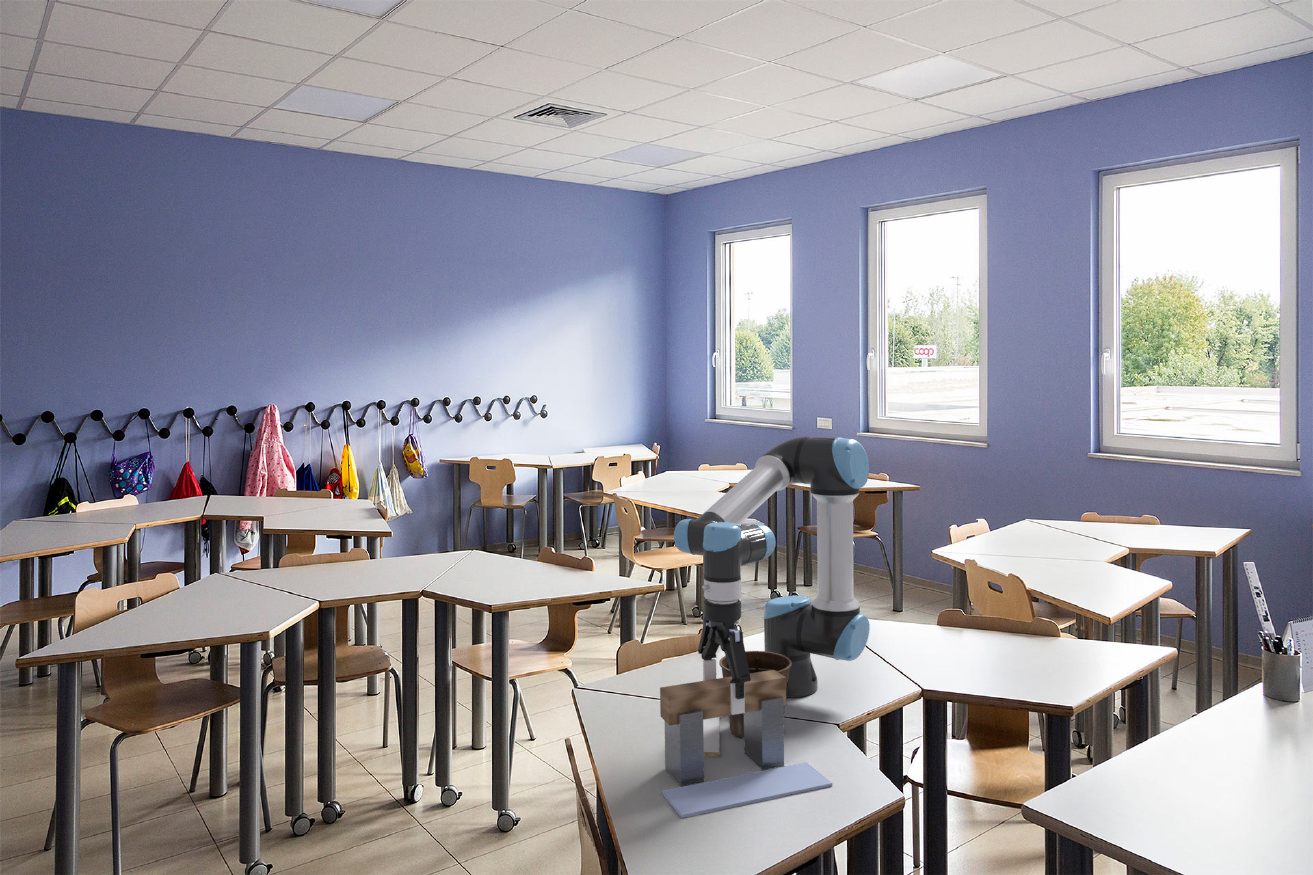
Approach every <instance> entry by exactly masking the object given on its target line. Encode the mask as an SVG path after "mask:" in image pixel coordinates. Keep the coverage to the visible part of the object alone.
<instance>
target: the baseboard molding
mask: <svg viewBox="0 0 1313 875" xmlns="http://www.w3.org/2000/svg"><path fill="white" fill-rule="evenodd" d="M703 737H704V757H720V717H717V718H711V719H705V720H703Z"/></svg>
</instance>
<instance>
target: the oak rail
mask: <svg viewBox="0 0 1313 875" xmlns="http://www.w3.org/2000/svg"><path fill="white" fill-rule="evenodd" d="M750 677H751V680H750V681H748V682H745V713H746V712H751V711H757V710H760V700H761V699H767V698H773V697H779V696H782V697H783V698H784V706H785V707H786V706H787V697H786V677H785V676H783V675H782V674H780V673H779V672H777V671H776V670H770V671H763V672H757V673H750ZM731 679H732V676H731V677H725V678H723V677H719V678H716V679H712V680H705V681H703V680H700V681H694V682H687V683H681V684H675V685H673V684H672V685H668V686H661V687H659V703H660V704H659V706H660V709H659V710H660V713H659V714H660V717H661V719H662V720H663V721H664V722H665V721H666V722H667V724H668V725H669V726H670V725H676V724H678V713H684V712H690V711H695V710H702V711H703V720H705V719H711V718H717V717H719V718H722V717H727V716H728V717H729V715H732V714H731V683H730V681H731Z"/></svg>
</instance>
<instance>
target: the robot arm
mask: <svg viewBox="0 0 1313 875" xmlns="http://www.w3.org/2000/svg"><path fill="white" fill-rule="evenodd" d="M869 475H870V463H869V458H868V455H867V452H866V450H865V448H864V447H863V445H862V444H861V443H860V442H859V441H857V440H856V439H853V438H847V437H846V438H843V437H822V436H821V437H819V436H818V437H815V436H796V437H793V438H790V439H788V440H785V441H783V442H781V443H779V444H777V445H776V446H773V447H772V448H770V449H769V450H767V451H766V452H765V453H764V454H763V455H762V456H760V457H759V458H758V459H757V461H756V462H755V464H754V468H752V469H751V471H749V472H748V473H747V474H746V475H744V477H743V478H741V479H740V481H738V482H737V483H736V484H735V485H733V487H731V488H730V489H729V490H728V491H727V492H725V494H723V496H721V497H720V498H719V499H718V500H717V501H716V502H714V504H712V505H711V506H710V507H709V508H708V509H706V511H704V513H702V514H701V515H700V516H699V517H698V518H696V519H694V518H688V519H687V518H685V519H682V520H680V521H679V522H678V523H677V524H676V526H675V529H674V531H673V540H674V545H675V547H676V549H677V550H678V551H680V552H681V553H682V552H683V553H687V554H690V555H693V556H703V568H704V569H703V570H704V571H703V585H702V586H701V587H702V589H703V592H704V593H703V596H704V598H705V599H704V602H703V625H702V630H701V635H700V638H699V639H700V640H699V642H698V643H699V644H698V647H697V653H698V654H699V655H701V656H700V657H701V659H702V681H705V680H712V679H717V654H716V653H718V652H717V651H718V649H719V648H720V650H721V651H722V652H723V653H724V656H726V659H727V662H728V666H729V669H730V672H731V676H732V679H731V681H730V683H731V714H732V715H735V714H741V713H745V682H748V681H750V680H751V677H750V672H749V667H748V662H747V658H746V653H745V651H746V649H745V644H744V632H743V630H742V629H740V630H739V629H738V630H737V629H736V626H735V625H736V624H735V622H737V621H739V620H741V617H742V602H741V600H740V599H741V598H742V575H741V574H742V572H741V571H742V566H745V565H748V564H752V563H755V562H760V561H763V560H764V559H767V558H768V557H770V556H771V555H772V554H773V553H774V551H775V548H776V544H777V543H776V537H775V534H774V532H773V530H771V528H770V527H768V526H767V525H765V524H760V523H758V524H754V523H753V524H750V525H742V524H743V523H744V522H745V521H746V520H747V518H749V517H750V516H751V515H752V514H753V513H754V512H755V511H756V510H757V509H759V507H761V506H762V505H763V504H764V503H765V502H766V501H767V500H768V499H769V498H770V497H771V496H773V494H775V492H778V491H783V490H784V489H786V488H787V487H788V486H791V485H794V484H795V485H796V484H804V485H809V486H810V495H811V496H812V497H813V498H814V499H815V500H816V525H817V526H816V534H817V535H816V540H817V542H816V544H817V545H816V547H817V549H816V550H817V552H816V553H817V557H816V558H817V559H816V560H817V563H816V564H817V569H816V570H817V596H816V597H815V598H814V599H813V600H812V601H811V599H810V597H808V596H804V595H787V596H780V597H775V598H772V599H770V600H768V601H767V602H766V603H765V604H764V611H763V617H762V618H763V627H764V630H763V634H764V636H763V639H764V651H766V652H773V653H777V654H781V655H784V656H786V657H788V658H789V659H790V660H791V662H792V665H791V667H790V669H789V679H788V682H787V688H786V698H799V697H802V698H803V697H807V696H809V695H812V694H815V692H817V691H818V687H819V686H818V685H819V684H818V681H819V680H818V677H817V675H816V674H817V673H816V670H815V667H814V665H813V661H812V658H811V654H812V655H816V656H817V655H818V656H821V657H826V658H830V659H834V660H836V661H839V660H840V661H847V662H852V661H855V660H856V659H858V658H859V657H860V656H861V655H862V653H863V651H864V650H865V648H866V646H867V643H868V641H869V640H868V639H869V636H870V629H871V628H870V620H869V618H868V616H867V615H866V614H864V613H861V604H860V602H859V601H858V600H857V599H856V598H855V597H854V500H855V499H856V498H857V497H858V496H859V495H860V489H861V488H863V487H864V486H866V484H867V482H868V481H869V480H868V477H869Z"/></svg>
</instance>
